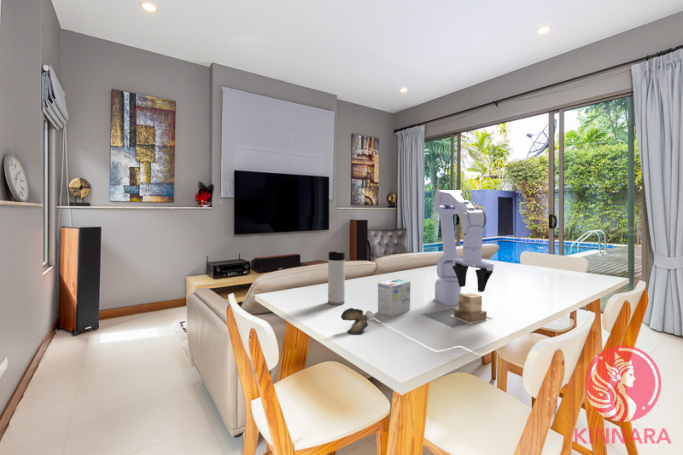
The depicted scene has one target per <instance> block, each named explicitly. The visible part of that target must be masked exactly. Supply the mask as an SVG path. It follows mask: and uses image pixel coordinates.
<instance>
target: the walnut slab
mask: <svg viewBox="0 0 683 455" xmlns="http://www.w3.org/2000/svg"><path fill="white" fill-rule="evenodd" d="M455 308H456V309H454V316H455V317H458V318H460V319H463V320H466V321H469V322H476V321H480V320H485V319H486V318H487V317H488V316H487V311H486V310H483V309H482V311H480V312H475V313H468V312H465V311H462V310H459V309H458V307H455ZM485 321H486V320H485ZM480 322H481V321H480ZM476 323H477V322H476Z"/></svg>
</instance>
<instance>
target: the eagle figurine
mask: <svg viewBox="0 0 683 455" xmlns="http://www.w3.org/2000/svg"><path fill="white" fill-rule="evenodd" d="M374 318H375V316H374V313H373V311H371V310H367V311H366V312H365V313H364V311H363V309H358V308H353V307H350V308H348V309H347V308H346V309H345V310H343V311H342V313H341V315H340V319H342V321H350V322H351V321H353V323H352V324H351V327H350V328H349V329H348V330H346V332H347V333H348V334H347V335H353V336H354V335H359V334H361V333H362V332H363V331H364V330H365V329H367V327H368V326H369V323H368V321H369V322H372V321H373V320H374Z"/></svg>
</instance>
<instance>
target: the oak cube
mask: <svg viewBox="0 0 683 455" xmlns="http://www.w3.org/2000/svg"><path fill="white" fill-rule="evenodd" d="M482 298H483V296H482V295H479V294H477V293H472V292H465V293H461V294H459V302H458V304H457V305H458V306H457V308H458V309H459V310H462V311H465V312H468V313H475V312H480V311H482V310H483V309H482V305H483V304H482V303H483V299H482Z"/></svg>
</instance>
